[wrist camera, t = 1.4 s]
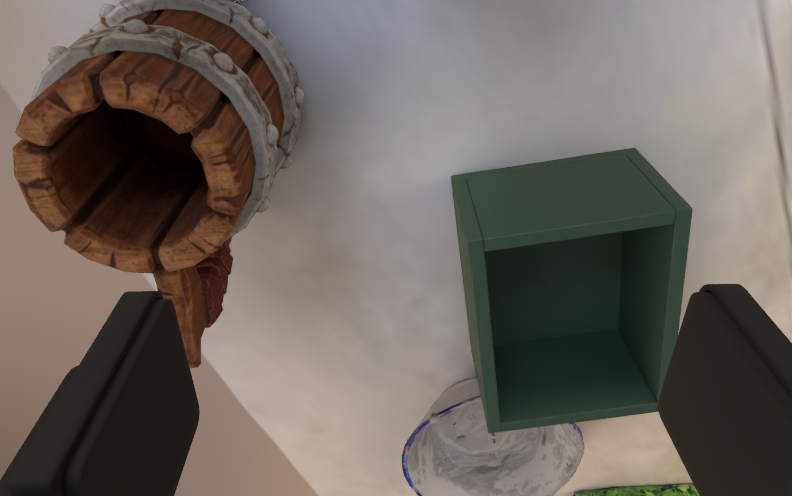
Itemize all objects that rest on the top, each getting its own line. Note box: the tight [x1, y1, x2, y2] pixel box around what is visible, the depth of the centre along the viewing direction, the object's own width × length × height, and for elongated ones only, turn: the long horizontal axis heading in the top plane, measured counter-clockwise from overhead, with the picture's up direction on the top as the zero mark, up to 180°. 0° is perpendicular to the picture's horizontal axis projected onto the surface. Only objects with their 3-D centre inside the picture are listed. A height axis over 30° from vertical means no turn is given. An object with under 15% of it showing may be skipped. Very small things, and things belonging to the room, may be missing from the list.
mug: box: [13, 0, 305, 368], centre depth 29 cm, size 12×14×15 cm
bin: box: [451, 148, 692, 433], centre depth 37 cm, size 11×14×8 cm
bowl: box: [402, 377, 584, 496], centre depth 46 cm, size 13×13×5 cm
